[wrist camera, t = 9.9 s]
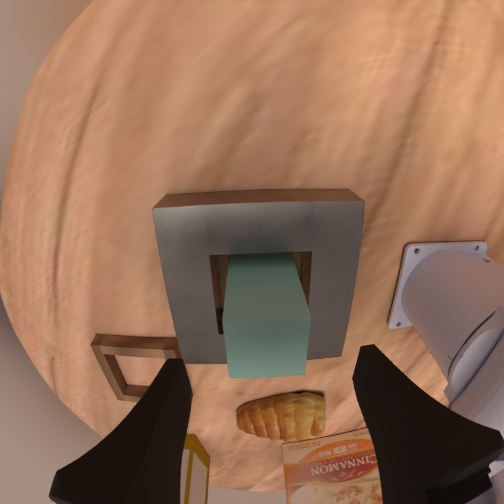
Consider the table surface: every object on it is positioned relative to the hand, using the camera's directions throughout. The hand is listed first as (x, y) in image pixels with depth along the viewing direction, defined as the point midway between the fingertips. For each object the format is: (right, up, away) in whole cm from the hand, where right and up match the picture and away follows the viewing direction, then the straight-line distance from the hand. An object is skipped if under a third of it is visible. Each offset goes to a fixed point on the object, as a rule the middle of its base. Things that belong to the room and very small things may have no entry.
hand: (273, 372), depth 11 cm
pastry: (+3, -12, +18) cm, 22 cm away
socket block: (0, +3, +10) cm, 10 cm away
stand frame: (-11, -6, +14) cm, 19 cm away
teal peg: (0, +3, +10) cm, 10 cm away
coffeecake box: (+11, -22, +22) cm, 33 cm away
